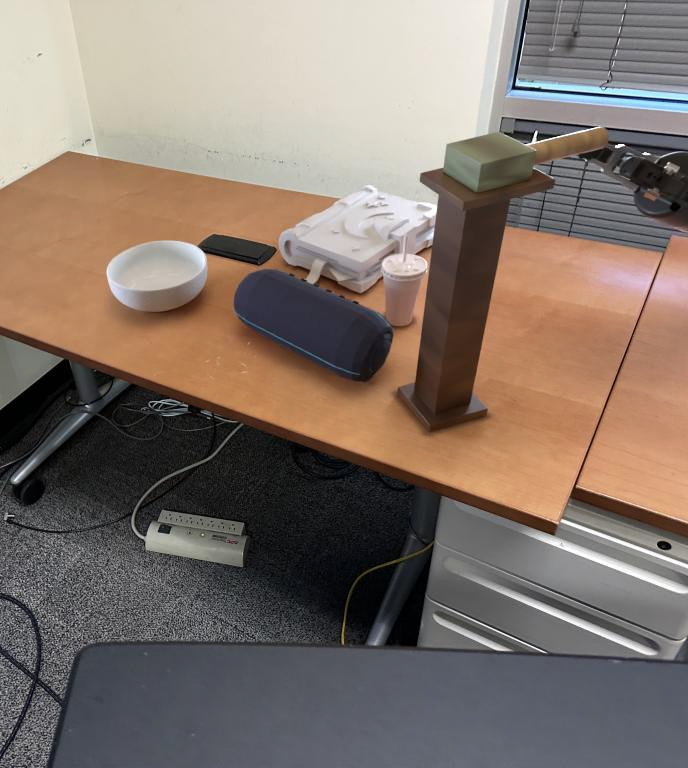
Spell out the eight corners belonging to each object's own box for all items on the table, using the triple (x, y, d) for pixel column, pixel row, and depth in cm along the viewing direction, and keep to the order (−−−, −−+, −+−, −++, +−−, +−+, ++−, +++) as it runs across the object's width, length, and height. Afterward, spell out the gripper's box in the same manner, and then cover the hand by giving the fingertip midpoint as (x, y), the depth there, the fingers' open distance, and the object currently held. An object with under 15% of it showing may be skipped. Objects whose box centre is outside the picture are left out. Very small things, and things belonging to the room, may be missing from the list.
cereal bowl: (230, 290, 117) (227, 254, 112) (163, 339, 108) (157, 301, 104) (160, 264, 127) (154, 230, 122) (93, 307, 118) (85, 271, 114)
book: (257, 272, 120) (255, 233, 115) (358, 212, 132) (360, 174, 128) (345, 311, 108) (347, 269, 103) (448, 241, 120) (453, 200, 115)
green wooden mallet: (577, 139, 74) (584, 110, 72) (619, 157, 69) (628, 128, 67) (442, 171, 72) (446, 143, 70) (476, 193, 67) (481, 164, 65)
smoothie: (417, 306, 107) (426, 224, 98) (424, 330, 102) (435, 246, 93) (374, 308, 108) (380, 227, 99) (379, 332, 103) (386, 249, 94)
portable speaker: (404, 368, 96) (410, 308, 89) (358, 403, 91) (362, 343, 85) (272, 305, 112) (270, 251, 105) (228, 332, 107) (223, 278, 101)
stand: (464, 374, 93) (505, 152, 74) (500, 411, 87) (555, 179, 67) (396, 393, 92) (420, 172, 72) (429, 432, 86) (464, 202, 66)
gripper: (718, 251, 75) (628, 212, 68) (620, 201, 86) (534, 163, 79) (772, 188, 72) (683, 140, 65) (663, 144, 83) (577, 99, 76)
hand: (601, 153), depth 72 cm, fingers open, 8 cm apart
